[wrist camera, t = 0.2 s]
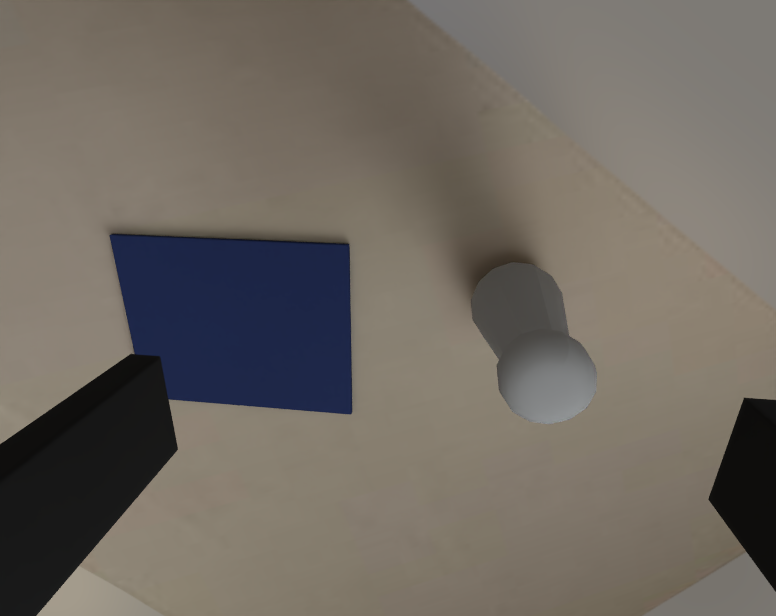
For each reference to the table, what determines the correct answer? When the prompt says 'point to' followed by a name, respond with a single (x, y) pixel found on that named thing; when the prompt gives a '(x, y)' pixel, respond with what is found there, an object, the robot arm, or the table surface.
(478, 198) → the table surface
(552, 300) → the salt shaker
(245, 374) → the cloth
